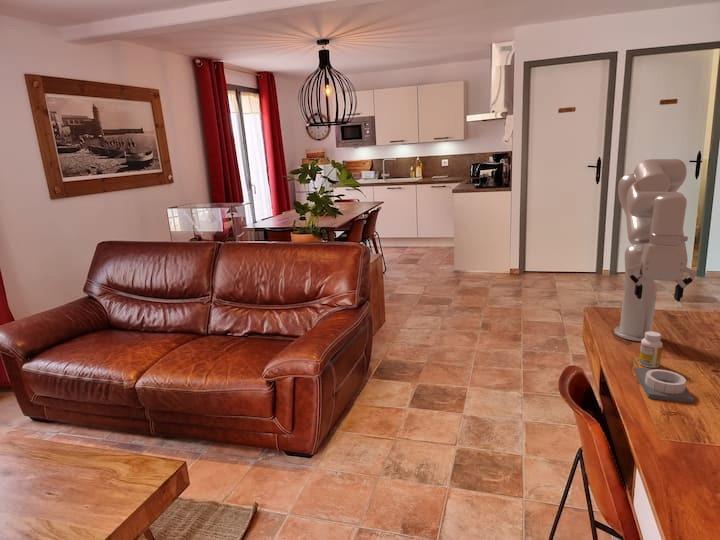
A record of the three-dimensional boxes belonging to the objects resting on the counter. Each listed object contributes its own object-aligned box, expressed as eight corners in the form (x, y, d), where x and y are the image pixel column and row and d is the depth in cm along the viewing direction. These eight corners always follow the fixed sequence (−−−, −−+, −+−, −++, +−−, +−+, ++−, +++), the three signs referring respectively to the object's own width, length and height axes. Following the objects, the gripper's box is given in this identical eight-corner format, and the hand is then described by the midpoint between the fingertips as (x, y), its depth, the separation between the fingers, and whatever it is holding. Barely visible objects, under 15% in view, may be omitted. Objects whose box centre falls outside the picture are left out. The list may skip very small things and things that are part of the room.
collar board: (634, 371, 140) (636, 359, 139) (674, 375, 137) (676, 363, 136) (648, 398, 125) (650, 385, 124) (693, 403, 122) (695, 389, 121)
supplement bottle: (654, 360, 146) (658, 330, 144) (663, 368, 141) (667, 337, 138) (635, 360, 146) (639, 330, 144) (643, 368, 141) (647, 337, 139)
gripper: (696, 238, 135) (688, 297, 139) (627, 236, 140) (621, 293, 145) (706, 243, 128) (697, 305, 133) (633, 241, 134) (626, 300, 138)
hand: (657, 298), depth 139 cm, fingers open, 9 cm apart
